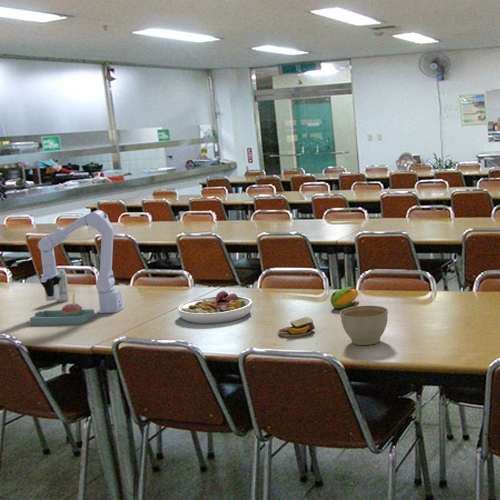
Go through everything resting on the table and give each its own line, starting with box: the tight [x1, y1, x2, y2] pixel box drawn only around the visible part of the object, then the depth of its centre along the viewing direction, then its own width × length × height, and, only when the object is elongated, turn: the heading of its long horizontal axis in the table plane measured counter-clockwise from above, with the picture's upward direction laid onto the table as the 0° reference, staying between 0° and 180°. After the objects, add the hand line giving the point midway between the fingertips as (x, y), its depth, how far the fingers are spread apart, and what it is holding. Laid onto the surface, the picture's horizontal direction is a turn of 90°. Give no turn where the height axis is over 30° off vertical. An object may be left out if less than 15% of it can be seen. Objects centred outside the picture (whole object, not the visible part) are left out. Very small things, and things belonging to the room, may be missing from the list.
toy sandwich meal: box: [277, 316, 316, 339], centre depth 283 cm, size 12×14×5 cm
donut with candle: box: [61, 293, 83, 317], centre depth 329 cm, size 9×8×12 cm
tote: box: [29, 308, 95, 326], centre depth 330 cm, size 23×13×4 cm, turn 78°
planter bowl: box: [339, 305, 389, 346], centre depth 265 cm, size 16×16×11 cm
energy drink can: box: [56, 268, 70, 303], centre depth 369 cm, size 6×6×15 cm
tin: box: [44, 284, 60, 302], centre depth 343 cm, size 4×4×6 cm
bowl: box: [177, 290, 253, 325], centre depth 318 cm, size 30×30×8 cm
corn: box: [329, 286, 359, 310], centre depth 318 cm, size 7×8×20 cm
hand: (52, 295), depth 343 cm, fingers closed on tin, 4 cm apart
